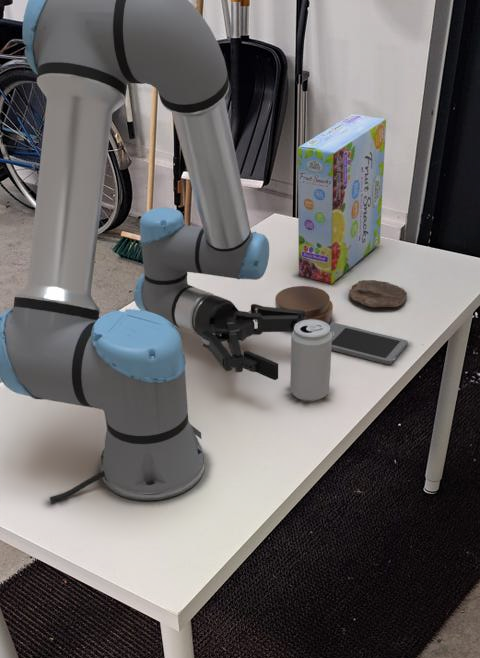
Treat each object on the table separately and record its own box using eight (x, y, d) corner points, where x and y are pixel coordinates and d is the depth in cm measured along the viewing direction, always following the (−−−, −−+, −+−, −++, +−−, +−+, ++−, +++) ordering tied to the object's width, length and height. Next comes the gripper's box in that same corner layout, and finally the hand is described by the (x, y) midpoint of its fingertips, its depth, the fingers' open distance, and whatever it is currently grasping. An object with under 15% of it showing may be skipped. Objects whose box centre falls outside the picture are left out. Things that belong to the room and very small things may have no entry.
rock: (406, 287, 169) (408, 274, 168) (406, 313, 160) (407, 300, 159) (350, 283, 171) (351, 271, 169) (346, 309, 162) (347, 296, 160)
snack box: (344, 237, 187) (351, 111, 170) (380, 245, 183) (391, 117, 166) (294, 276, 174) (295, 143, 156) (332, 285, 170) (337, 151, 153)
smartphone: (408, 344, 152) (409, 340, 151) (390, 365, 146) (391, 361, 146) (332, 325, 158) (332, 321, 157) (312, 345, 152) (312, 341, 152)
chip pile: (308, 339, 154) (308, 316, 151) (264, 322, 159) (264, 300, 156) (342, 318, 160) (344, 295, 157) (299, 302, 165) (300, 280, 162)
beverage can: (284, 386, 142) (285, 321, 134) (320, 380, 144) (323, 314, 136) (298, 406, 138) (299, 340, 130) (335, 399, 139) (338, 333, 131)
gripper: (254, 309, 157) (348, 345, 147) (158, 363, 144) (253, 407, 133) (253, 270, 152) (350, 305, 142) (153, 323, 139) (252, 365, 128)
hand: (303, 354), depth 137 cm, fingers open, 13 cm apart
